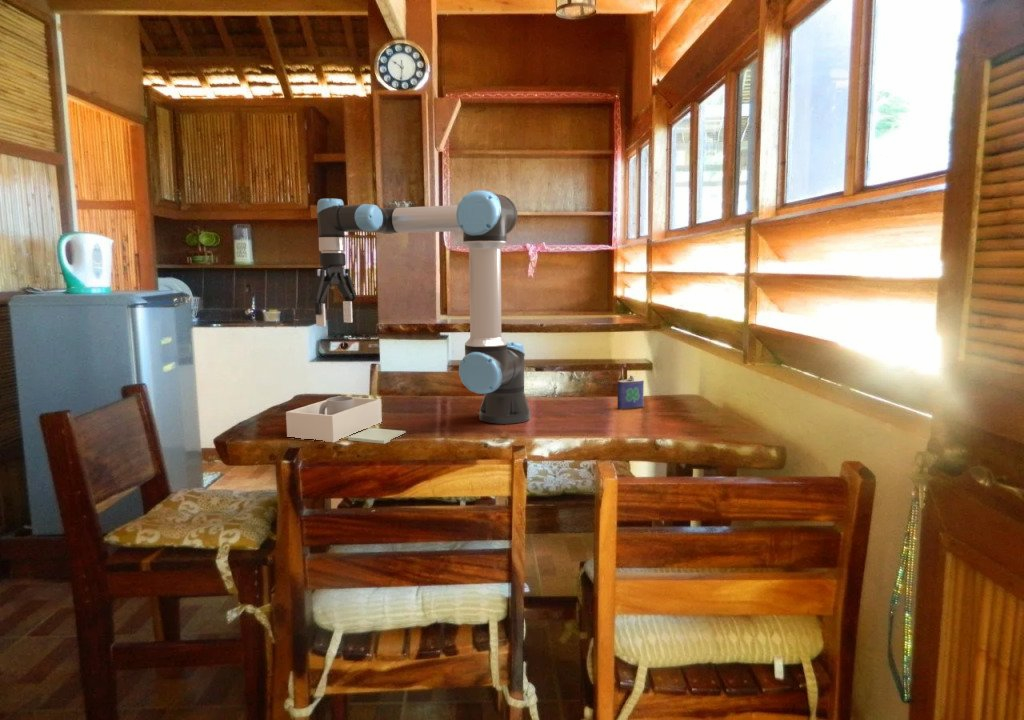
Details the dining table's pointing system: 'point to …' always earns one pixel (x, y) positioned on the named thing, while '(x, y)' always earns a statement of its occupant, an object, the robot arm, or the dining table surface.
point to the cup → (336, 405)
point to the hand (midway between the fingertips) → (335, 324)
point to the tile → (376, 435)
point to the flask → (630, 393)
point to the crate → (333, 420)
